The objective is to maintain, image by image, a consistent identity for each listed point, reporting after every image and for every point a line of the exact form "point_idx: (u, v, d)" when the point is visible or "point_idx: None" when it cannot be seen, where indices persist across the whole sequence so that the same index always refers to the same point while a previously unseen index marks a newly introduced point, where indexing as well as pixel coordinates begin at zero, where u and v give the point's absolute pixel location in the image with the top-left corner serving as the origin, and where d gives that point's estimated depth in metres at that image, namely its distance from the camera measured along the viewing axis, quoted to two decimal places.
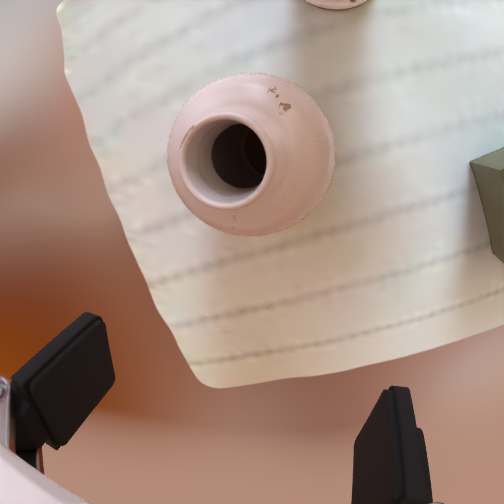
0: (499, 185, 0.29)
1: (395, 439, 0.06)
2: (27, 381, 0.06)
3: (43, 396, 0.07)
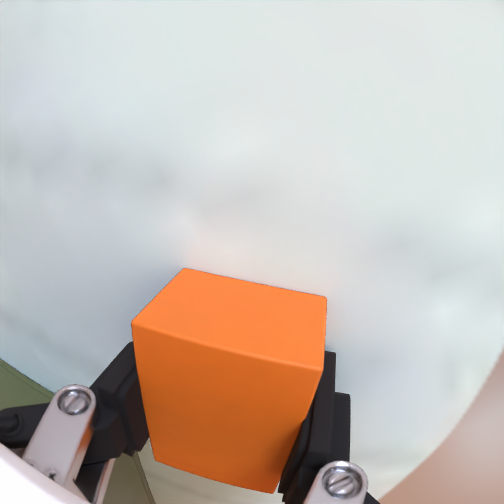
0: None
1: None
2: (117, 388, 0.07)
3: (130, 402, 0.07)
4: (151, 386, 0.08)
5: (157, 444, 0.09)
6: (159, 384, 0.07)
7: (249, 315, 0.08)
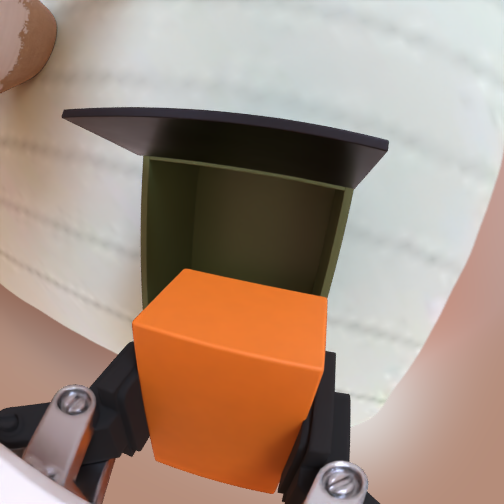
0: None
1: None
2: (117, 388, 0.07)
3: (130, 402, 0.07)
4: (152, 386, 0.08)
5: (158, 444, 0.09)
6: (159, 385, 0.07)
7: (249, 316, 0.08)
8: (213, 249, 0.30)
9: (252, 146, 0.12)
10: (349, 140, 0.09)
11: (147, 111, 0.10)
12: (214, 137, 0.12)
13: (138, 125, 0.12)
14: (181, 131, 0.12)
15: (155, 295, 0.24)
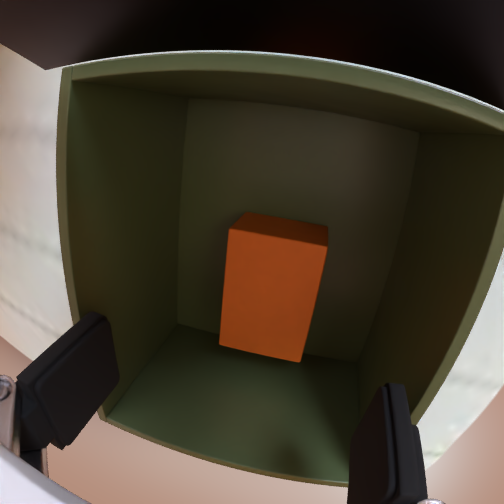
0: None
1: (390, 435, 0.06)
2: (33, 381, 0.06)
3: (49, 396, 0.07)
4: (233, 271, 0.15)
5: (225, 324, 0.16)
6: (238, 268, 0.15)
7: (288, 229, 0.15)
8: (211, 263, 0.19)
9: None
10: None
11: None
12: None
13: None
14: None
15: None
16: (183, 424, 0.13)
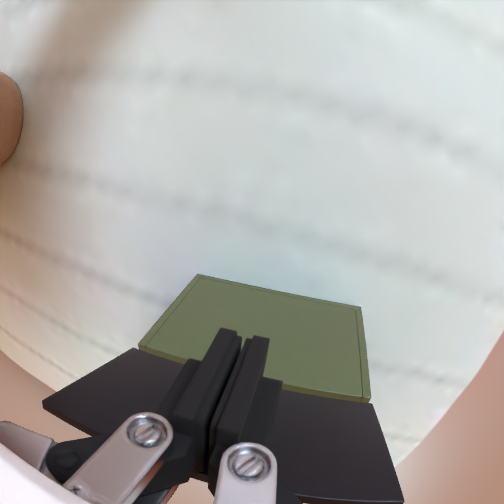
0: None
1: (235, 377, 0.08)
2: (196, 414, 0.07)
3: (205, 426, 0.07)
4: None
5: None
6: None
7: None
8: None
9: None
10: None
11: None
12: None
13: None
14: None
15: None
16: None
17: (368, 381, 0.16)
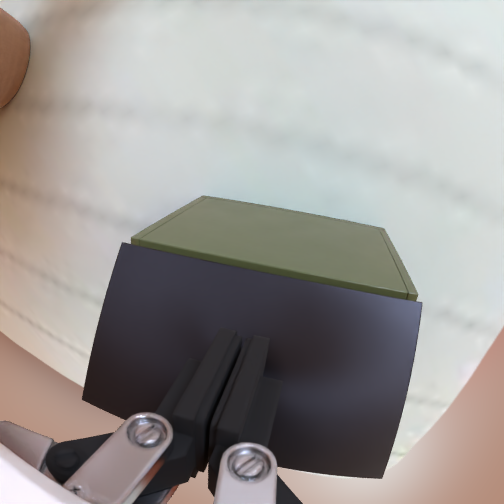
0: None
1: (235, 377, 0.08)
2: (196, 414, 0.07)
3: (205, 426, 0.07)
4: None
5: None
6: None
7: None
8: None
9: None
10: None
11: None
12: None
13: None
14: None
15: None
16: None
17: (410, 280, 0.13)
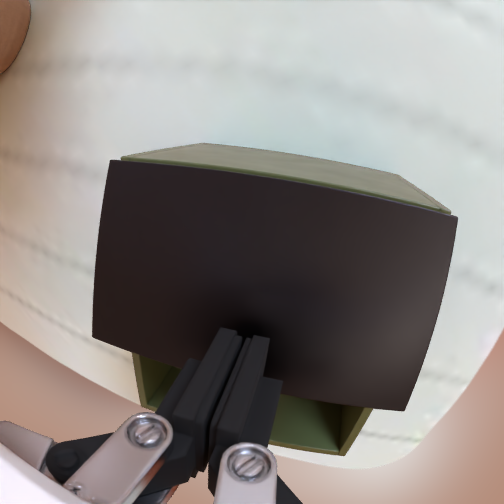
0: None
1: (235, 377, 0.08)
2: (195, 414, 0.07)
3: (205, 426, 0.07)
4: None
5: None
6: None
7: None
8: None
9: None
10: None
11: None
12: None
13: None
14: None
15: None
16: None
17: None
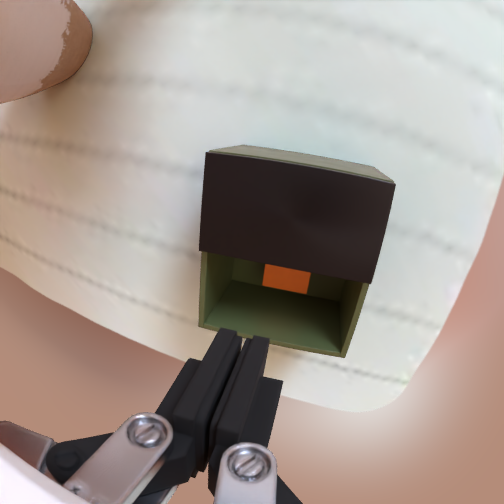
0: None
1: (235, 377, 0.08)
2: (195, 414, 0.07)
3: (204, 426, 0.07)
4: None
5: (266, 273, 0.31)
6: None
7: None
8: None
9: None
10: None
11: None
12: None
13: None
14: None
15: (210, 283, 0.27)
16: (246, 324, 0.28)
17: (389, 178, 0.21)
